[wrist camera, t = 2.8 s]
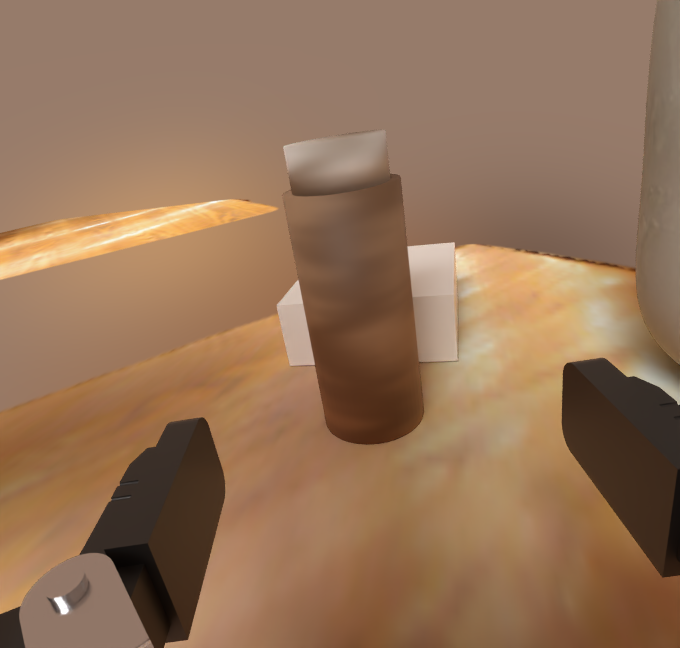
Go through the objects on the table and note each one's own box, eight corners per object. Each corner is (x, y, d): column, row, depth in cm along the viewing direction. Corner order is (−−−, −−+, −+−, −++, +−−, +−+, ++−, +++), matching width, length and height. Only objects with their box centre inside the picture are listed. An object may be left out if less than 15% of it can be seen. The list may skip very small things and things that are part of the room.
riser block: (289, 365, 30) (276, 305, 29) (327, 303, 39) (319, 254, 37) (457, 360, 28) (453, 294, 26) (457, 295, 36) (454, 242, 35)
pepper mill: (315, 443, 23) (254, 154, 18) (337, 387, 27) (293, 141, 22) (420, 444, 22) (387, 134, 16) (426, 386, 26) (401, 125, 21)
